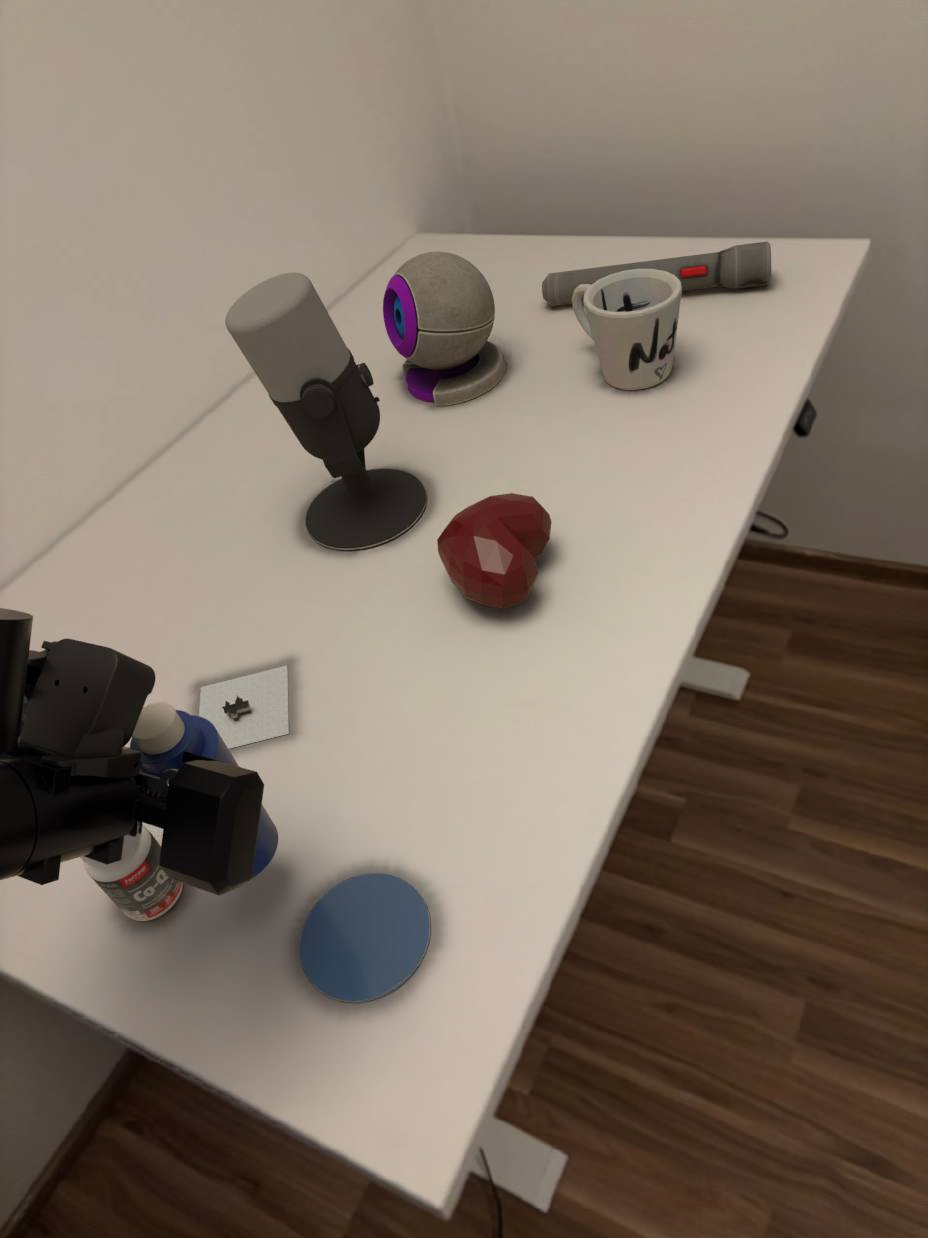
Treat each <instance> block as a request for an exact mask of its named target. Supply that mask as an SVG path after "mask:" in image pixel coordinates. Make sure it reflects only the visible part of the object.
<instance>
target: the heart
mask: <svg viewBox="0 0 928 1238" xmlns="http://www.w3.org/2000/svg"><path fill="white" fill-rule="evenodd" d="M552 522H553V521H552V518H551V515H550V513H549V512H548V511H547V510H546V509H545V507H543V506H542V504H541V503H540V502H539V501H538V500H537V499H536V498H535V497H534V496H531V495H526V494H519V493H514V492H511V493H501V494H497V495H490V496H487V497H485V498H483V499H481V500H478V501H477V502H475V503H473V504H471V505H469V506H467V507H465V508H464V509H462V510H461V511H459V512H458V513H456V514H455V515H454V516H453V517H452V519H451V520H450V521H449V522H448V524H447V525H446V527H445V528H444V529H443V531H442V532H441V534H440V535H439V536H438V538H437V552H438V556H439V558H440V561H441V562H442V564H443V567H444V569H445V571H446V573H447V575H448V578H449V579H450V581H451V583H452V584H453V586H455V588H456V589H457V590H458V592H459V593H460V594H461V595H462V596H463V598H464V599H468V600H470V601H473V602H475V603H478V604H480V605H483V606H486V607H492V608H498V609H505V610H506V609H508V608H511V607H514V606H517V605H519V604H523V603H524V602H525V601H526V600H527V599H528V597H529V595H530V593H531V590H532V588H533V586H534V584H535V581H536V579H537V577H538V575H539V570H538V567H537V563H536V559H537V558H538V557H539V556H540V555H542V554H543V552H544V551H545V548H546V547H547V545H548V543H549V541H550V539H551V530H552Z"/></svg>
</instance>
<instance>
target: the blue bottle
mask: <svg viewBox="0 0 928 1238" xmlns="http://www.w3.org/2000/svg"><path fill="white" fill-rule="evenodd" d="M129 742H130V743H129V747H130V749H133V750H136V751H140V752H141V760H140V769H139V771H140V772H144V773H147V774H151V775H154V776H157V777H161V775H162V774H163V772H164V771H166V770H169V769H178V770H179V769H180V767H181V766H182V759H183V752H184V751H186V752H190V753H193V754H197V755H201V756H204V757H208V758H212V759H215V760H218V761H220V762H223V763H227V764H230V765H234V766H237V767H240V765H239V764H238V762H237V761H236V759H235V757H234V756H233V754H232V752H231V751H230V749H228V748H227V746H226V744H225V743H224V741H223V739H222V738H221V736H220V734H219V733H218V731H217V730H216V728H215V726H214V725H213V724H212V723H211V722H210V721H208V720H207V719H205V718H203V717H199V715H194V714H192V715H191V714H190V713H188V712H186V711H184V710H180V709H175V707H174V706H173V705H172V704H170V703H168V702H166V701H157V702H152V703H150V704H146V705H144V706H143V709H142V711H141V714H140V717H139V719H138V722H137V725H136V727H135V730H134V732H133V735H132V737H131V739H130V741H129ZM278 845H279V832H278V829H277V827H276V824H275V823H274V821H273V819H272V818H271V816H270V815H269V813H268V812H267V810H266V808H265V806H264V804H262V806H261V814H260V821H259V829H258V837H257V844H256V852H255V860H254V867H253V875H252V879H253V878H255V877H257V876H258V875H260V873H262V872H263V871H264V870H265V869H266V868H267V867H268V866H269V864H270V863H271V862H272V860H273V859H274V856H275V854H276V851H277V850H278Z"/></svg>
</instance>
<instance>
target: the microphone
mask: <svg viewBox="0 0 928 1238" xmlns="http://www.w3.org/2000/svg"><path fill="white" fill-rule="evenodd" d="M224 321H225V328H226V330H227V331H228V334H230V336H231V337H232V339H233V341H234V342H235V344H236V345H237V347H238V349H239V350H240V351H241V353H242V355H243V356H244V357H245V359H246V361H247V363H248V364H249V365H250V367H251V369H252V370H253V372H254V374H255V375H256V377H257V378H258V380H259V381H260V383H261V384H262V386H263V388H264V389H265V391H266V392H267V395H268V397H269V399H270V400H271V402H272V404H273V405H274V406H275V407H276V408H277V409H278V411H279V413H280V414H281V415H282V417H283V419H284V420H285V422H286V424H287V425H288V426H289V428H290V430H291V431H292V433H293V434H294V436H295V438H296V439H297V441H298V442H299V444H300V445H301V446H302V448H303V449H304V450H305V451H306V452H307V453H308V454H310V455H311V457H314V458H316V459H319V460H322V463H323V465H324V467H325V469H326V471H328V474H329V475H330V476H331V478H332V479H336V478H340V477H341V478H340V479H337V480H336V481H334V482H333V483H331V484H330V485H328V486H327V487H325V488H324V489H323V490H322V491H320V492H319V493H318V494H317V495H316V497H315V498H313V500H312V501H311V503H310V504H309V506H308V508H307V511H306V513H305V519H304V520H305V528H306V530H307V532H308V534H309V536H310V538H311V539H312V540H313V541H314V542H315V543H317V544H318V545H320V546H322V547H324V548H326V549H329V550H333V551H340V552H353V551H354V552H355V551H364V550H368V549H373V548H376V547H379V546H382V545H385V544H387V543H390V542H391V541H394V540H395V539H397V538H399V537H400V536H403V534H405V533H406V532H408V531H409V530H410V529H411V528H413V526H415V524H416V523H418V521H419V520H420V519H421V517H422V516H423V514H424V512H425V509H426V507H427V503H428V496H427V491H426V489H425V486H424V483H423V482H422V481H421V480H420V479H419V478H418V477H417V476H415V474H411V473H410V472H407V471H406V470H401V469H396V468H372V469H367V467H366V453H365V448H367V447H368V446H369V445H370V443H371V442H372V441H373V440H374V438H375V436H376V435H377V433H378V430H379V428H380V423H381V412H380V406H379V404H378V402H380V401H381V400H380V397H379V396H376V397H375V396H374V394H373V392H372V391H371V389H370V387H371V386H373V385H374V378H373V375H372V373H371V370H370V368H369V366H368V365H367V364H366V363H365V362H361V363H356V361H355V357H354V355H353V354H352V352H351V350H350V348H349V347H348V346H347V344H346V343H345V341H344V339H343V337H342V335H341V334H340V332H339V330H338V328H337V327H336V325H335V323H334V321H333V319H332V317H331V316H330V314H329V312H328V310H327V308H326V306H325V304H324V303H323V301H322V299H321V297H320V296H319V294H318V291H317V290H316V288H315V286H314V284H313V283H312V281H311V279H310V278H309V277H308V276H307V275H305V274H303V273H300V272H285V273H281V274H277V275H274V276H272V277H270V278H267V279H265V280H263V281H261V282H259V283H257V284H256V285H255V286H253V287H251V288H250V289H249V290H246V292H244V293H243V294H242V295H240V296H239V297H238V298H237V299H236V300H235V301H234V302H233V303H232V304H231V306H230V308H229V309H228V310H227V312H226V316H225V320H224Z"/></svg>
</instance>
